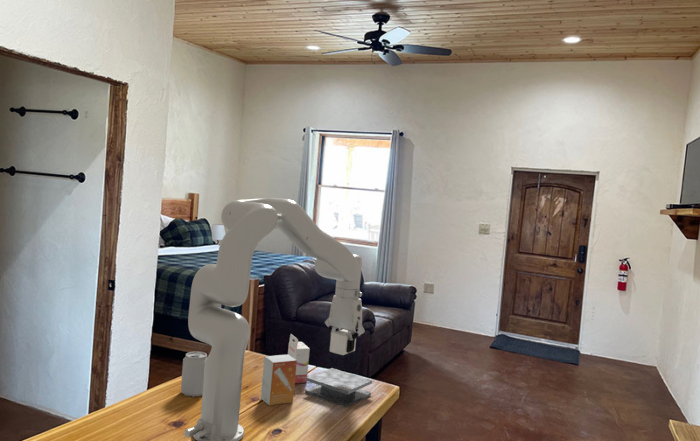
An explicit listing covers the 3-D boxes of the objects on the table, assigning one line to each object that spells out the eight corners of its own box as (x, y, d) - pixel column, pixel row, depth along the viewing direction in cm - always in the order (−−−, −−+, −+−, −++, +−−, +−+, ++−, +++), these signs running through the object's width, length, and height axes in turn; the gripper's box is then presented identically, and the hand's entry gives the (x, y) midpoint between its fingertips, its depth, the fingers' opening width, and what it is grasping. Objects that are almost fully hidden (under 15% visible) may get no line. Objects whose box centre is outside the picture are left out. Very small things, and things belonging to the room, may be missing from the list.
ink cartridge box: (307, 383, 182) (311, 339, 181) (293, 384, 180) (297, 340, 179) (299, 374, 190) (302, 332, 189) (285, 375, 188) (289, 333, 187)
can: (175, 395, 162) (178, 355, 161) (188, 387, 169) (191, 348, 169) (198, 399, 160) (201, 359, 160) (210, 391, 167) (213, 352, 167)
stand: (346, 407, 164) (348, 391, 164) (304, 393, 173) (306, 377, 173) (370, 395, 176) (372, 380, 175) (330, 382, 184) (331, 368, 184)
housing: (354, 350, 175) (356, 332, 175) (342, 355, 169) (344, 336, 169) (342, 347, 178) (343, 329, 178) (329, 351, 172) (331, 332, 172)
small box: (269, 406, 160) (272, 362, 159) (260, 398, 165) (263, 356, 165) (293, 402, 164) (297, 359, 164) (284, 395, 170) (287, 353, 169)
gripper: (376, 296, 171) (371, 353, 172) (332, 287, 181) (327, 341, 182) (363, 299, 165) (358, 358, 166) (318, 289, 174) (314, 345, 175)
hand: (342, 349), depth 174 cm, fingers closed on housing, 5 cm apart
